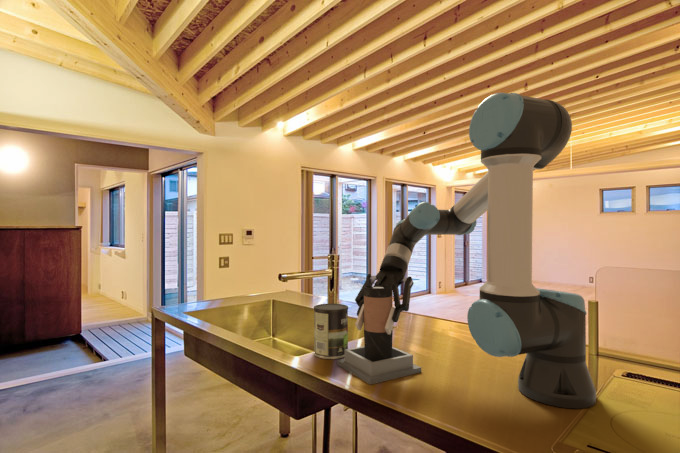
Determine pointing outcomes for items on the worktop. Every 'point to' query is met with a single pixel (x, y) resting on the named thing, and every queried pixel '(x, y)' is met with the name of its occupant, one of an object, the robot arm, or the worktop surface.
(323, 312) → the coffee can
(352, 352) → the dock
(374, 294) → the travel mug
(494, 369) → the worktop surface
